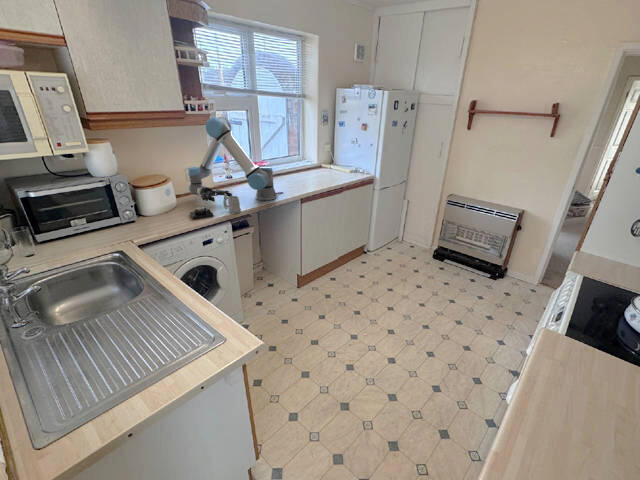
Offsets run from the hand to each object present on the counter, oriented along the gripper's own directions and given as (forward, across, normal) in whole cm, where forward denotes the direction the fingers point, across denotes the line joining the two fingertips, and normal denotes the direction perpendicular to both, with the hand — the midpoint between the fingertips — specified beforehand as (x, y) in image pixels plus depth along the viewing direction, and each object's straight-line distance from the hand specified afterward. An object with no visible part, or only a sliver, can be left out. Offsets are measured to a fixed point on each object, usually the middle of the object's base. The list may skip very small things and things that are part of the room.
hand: (223, 197), depth 215 cm
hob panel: (+3, +19, -8) cm, 20 cm away
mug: (+10, +1, -8) cm, 12 cm away
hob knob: (+3, +19, -4) cm, 19 cm away
